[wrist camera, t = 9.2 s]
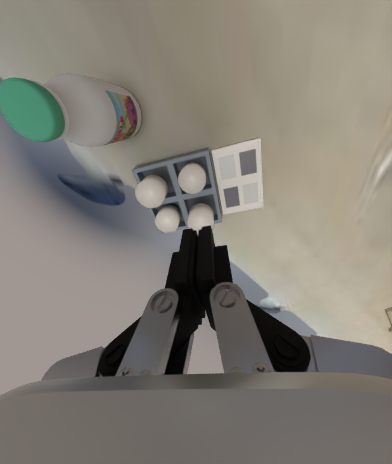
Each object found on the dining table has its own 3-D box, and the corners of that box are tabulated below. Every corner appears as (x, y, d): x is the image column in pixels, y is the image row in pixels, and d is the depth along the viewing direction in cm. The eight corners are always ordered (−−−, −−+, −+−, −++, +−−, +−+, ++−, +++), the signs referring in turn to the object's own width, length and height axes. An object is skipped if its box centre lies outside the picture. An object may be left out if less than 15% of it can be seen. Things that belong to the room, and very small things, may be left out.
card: (211, 150, 34) (211, 150, 33) (259, 137, 32) (260, 138, 32) (222, 213, 41) (223, 214, 41) (262, 205, 40) (263, 207, 39)
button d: (186, 203, 36) (184, 214, 32) (210, 198, 36) (211, 208, 31) (192, 223, 39) (191, 236, 35) (215, 219, 38) (216, 231, 34)
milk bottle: (93, 119, 32) (-29, 124, 16) (108, 74, 29) (-31, 16, 12) (132, 147, 34) (61, 176, 18) (150, 108, 31) (82, 99, 14)
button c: (157, 204, 40) (151, 214, 36) (177, 199, 39) (174, 209, 35) (164, 222, 43) (159, 234, 39) (184, 219, 42) (181, 230, 38)
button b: (178, 163, 35) (174, 169, 31) (203, 157, 34) (202, 163, 30) (185, 187, 38) (182, 196, 33) (208, 182, 37) (208, 190, 33)
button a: (139, 175, 34) (130, 184, 30) (164, 169, 33) (157, 177, 29) (149, 199, 37) (142, 210, 32) (172, 194, 36) (167, 205, 32)
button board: (137, 166, 36) (131, 170, 34) (208, 147, 34) (208, 150, 31) (161, 226, 44) (159, 233, 42) (221, 215, 42) (222, 222, 39)
